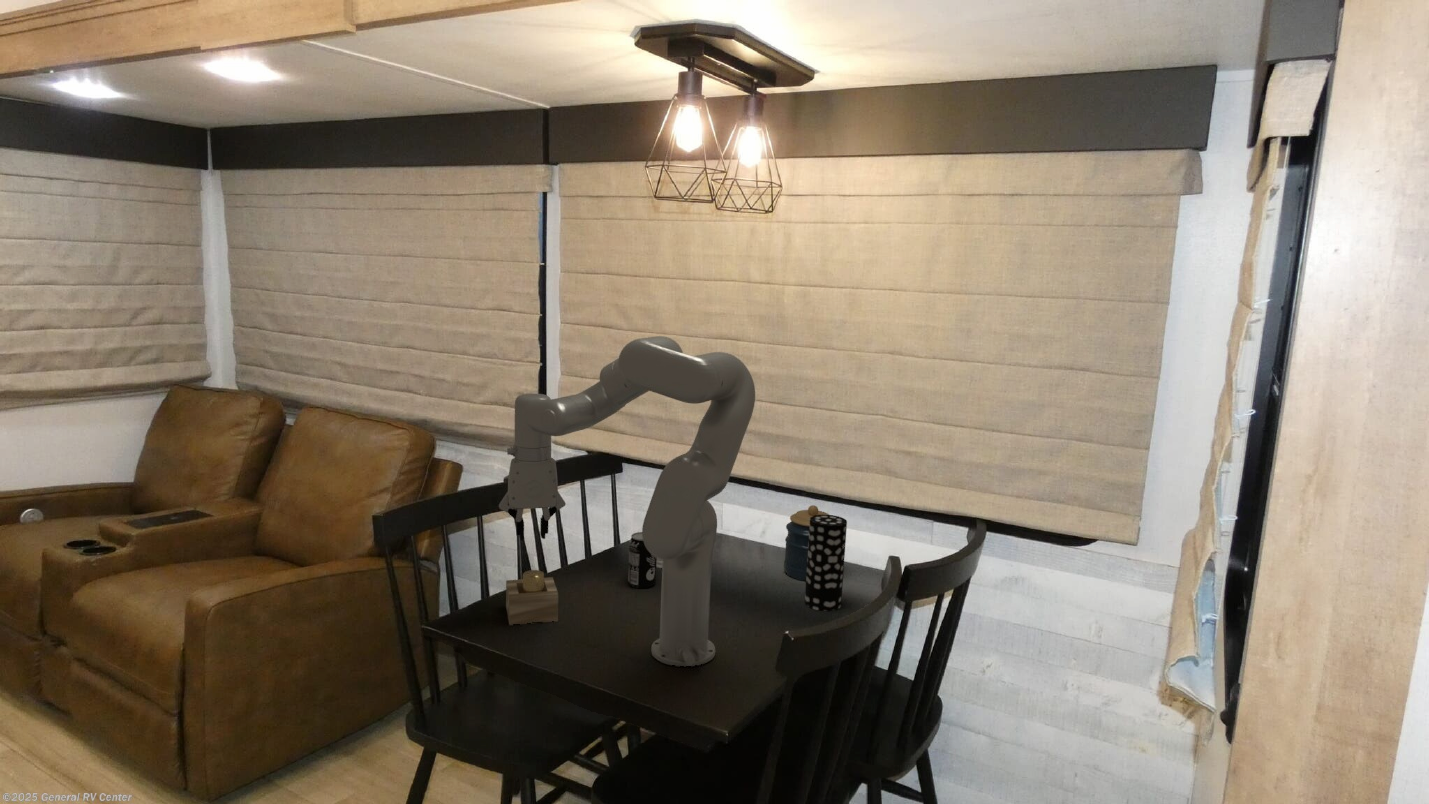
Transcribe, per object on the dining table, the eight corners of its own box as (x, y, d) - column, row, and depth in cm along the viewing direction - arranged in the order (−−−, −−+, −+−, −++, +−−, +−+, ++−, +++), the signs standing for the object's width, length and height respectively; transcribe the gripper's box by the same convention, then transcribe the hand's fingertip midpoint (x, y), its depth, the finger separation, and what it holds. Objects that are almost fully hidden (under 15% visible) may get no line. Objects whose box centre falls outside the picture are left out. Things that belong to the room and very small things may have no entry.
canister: (834, 566, 219) (838, 500, 216) (835, 584, 207) (840, 514, 204) (784, 562, 221) (787, 496, 218) (782, 580, 208) (786, 511, 205)
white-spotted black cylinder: (813, 594, 200) (819, 512, 197) (846, 602, 196) (852, 519, 192) (798, 605, 193) (803, 520, 190) (832, 614, 189) (838, 527, 185)
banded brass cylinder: (545, 612, 181) (545, 576, 179) (524, 614, 179) (524, 578, 178) (542, 603, 185) (542, 569, 183) (521, 606, 183) (521, 571, 182)
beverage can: (657, 580, 204) (659, 532, 202) (653, 590, 198) (654, 541, 196) (631, 578, 205) (632, 530, 203) (625, 588, 198) (626, 539, 197)
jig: (557, 621, 179) (558, 594, 178) (509, 625, 176) (509, 598, 175) (552, 602, 188) (552, 577, 187) (506, 606, 185) (506, 580, 184)
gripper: (492, 458, 170) (492, 545, 173) (575, 456, 175) (574, 541, 178) (490, 450, 177) (490, 534, 180) (570, 448, 182) (569, 530, 185)
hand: (532, 536), depth 179 cm, fingers open, 3 cm apart
